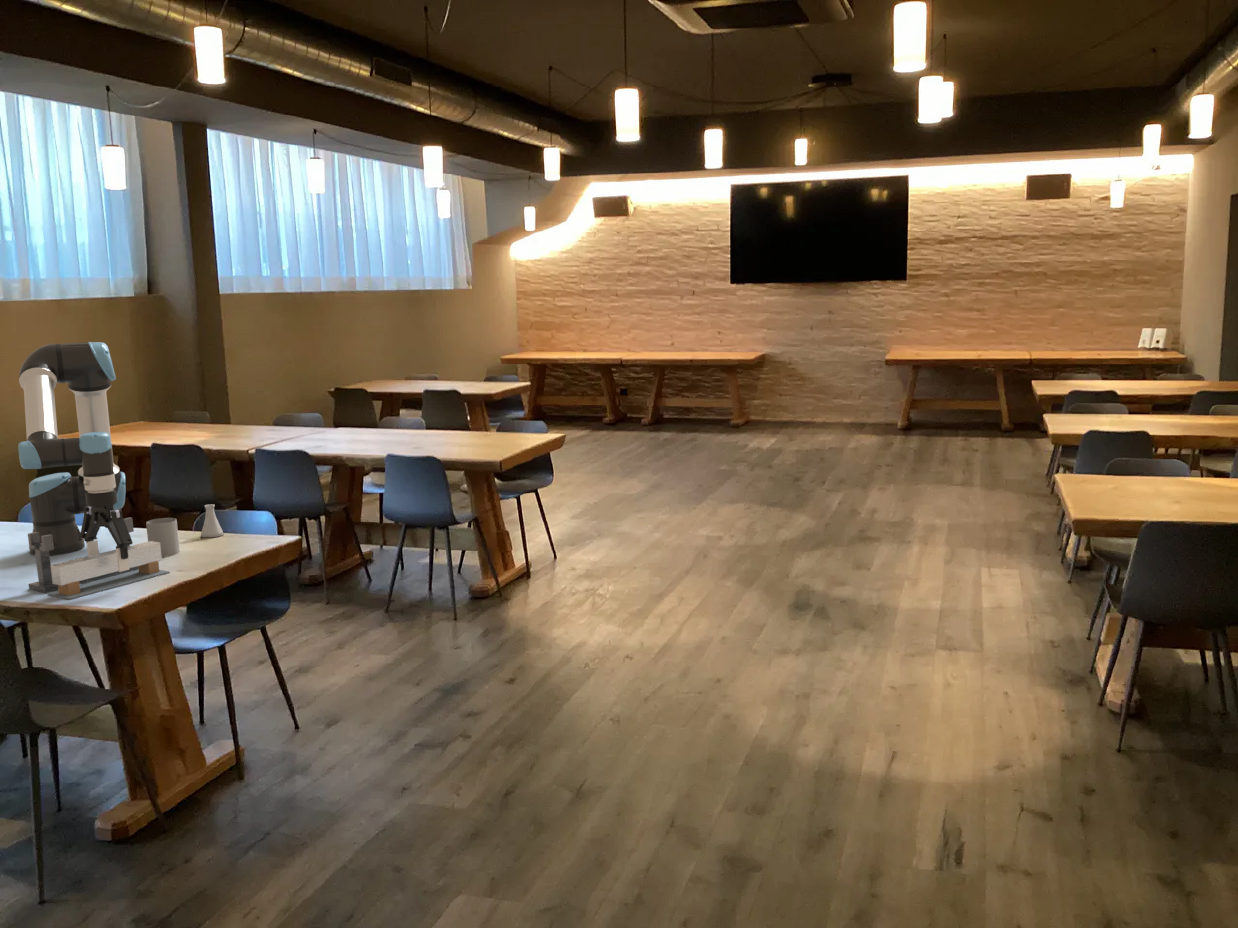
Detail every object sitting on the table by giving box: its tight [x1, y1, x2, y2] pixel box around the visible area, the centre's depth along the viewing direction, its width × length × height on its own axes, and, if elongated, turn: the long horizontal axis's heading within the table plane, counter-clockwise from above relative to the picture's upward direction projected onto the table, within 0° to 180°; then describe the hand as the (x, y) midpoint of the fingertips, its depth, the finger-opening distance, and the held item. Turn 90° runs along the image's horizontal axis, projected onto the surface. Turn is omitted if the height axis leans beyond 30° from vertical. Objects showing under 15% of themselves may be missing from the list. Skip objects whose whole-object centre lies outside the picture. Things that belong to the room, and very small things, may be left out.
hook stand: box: [27, 516, 139, 594], centre depth 293 cm, size 8×28×15 cm, turn 147°
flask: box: [200, 503, 224, 538], centre depth 341 cm, size 7×7×10 cm
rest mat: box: [47, 561, 171, 601], centre depth 288 cm, size 10×29×3 cm, turn 147°
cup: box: [145, 517, 181, 558], centre depth 319 cm, size 8×8×10 cm
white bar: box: [51, 541, 163, 586], centre depth 287 cm, size 4×29×5 cm, turn 147°
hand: (109, 567), depth 287 cm, fingers open, 13 cm apart
